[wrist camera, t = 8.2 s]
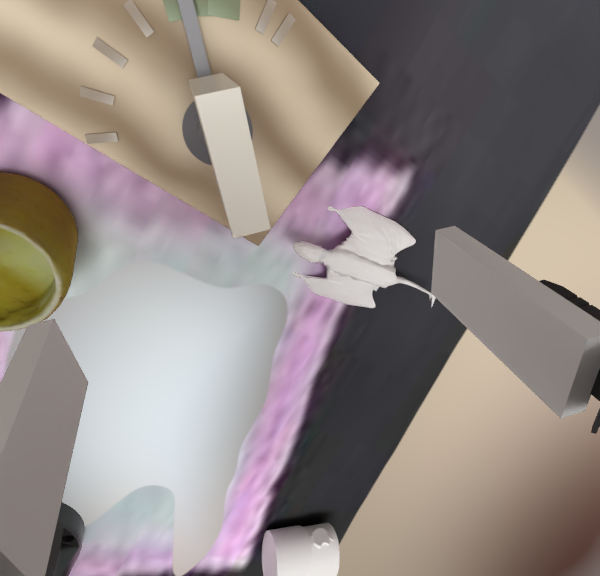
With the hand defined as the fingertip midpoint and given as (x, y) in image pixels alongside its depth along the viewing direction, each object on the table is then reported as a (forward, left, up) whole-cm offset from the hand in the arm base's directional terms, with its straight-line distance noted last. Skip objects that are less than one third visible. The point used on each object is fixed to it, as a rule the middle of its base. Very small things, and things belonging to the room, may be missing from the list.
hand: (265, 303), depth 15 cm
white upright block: (+3, +3, -21) cm, 21 cm away
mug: (-15, +9, -23) cm, 29 cm away
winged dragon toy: (-1, -19, -24) cm, 30 cm away
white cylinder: (-43, -42, -23) cm, 65 cm away
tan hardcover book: (+4, +4, -23) cm, 24 cm away
